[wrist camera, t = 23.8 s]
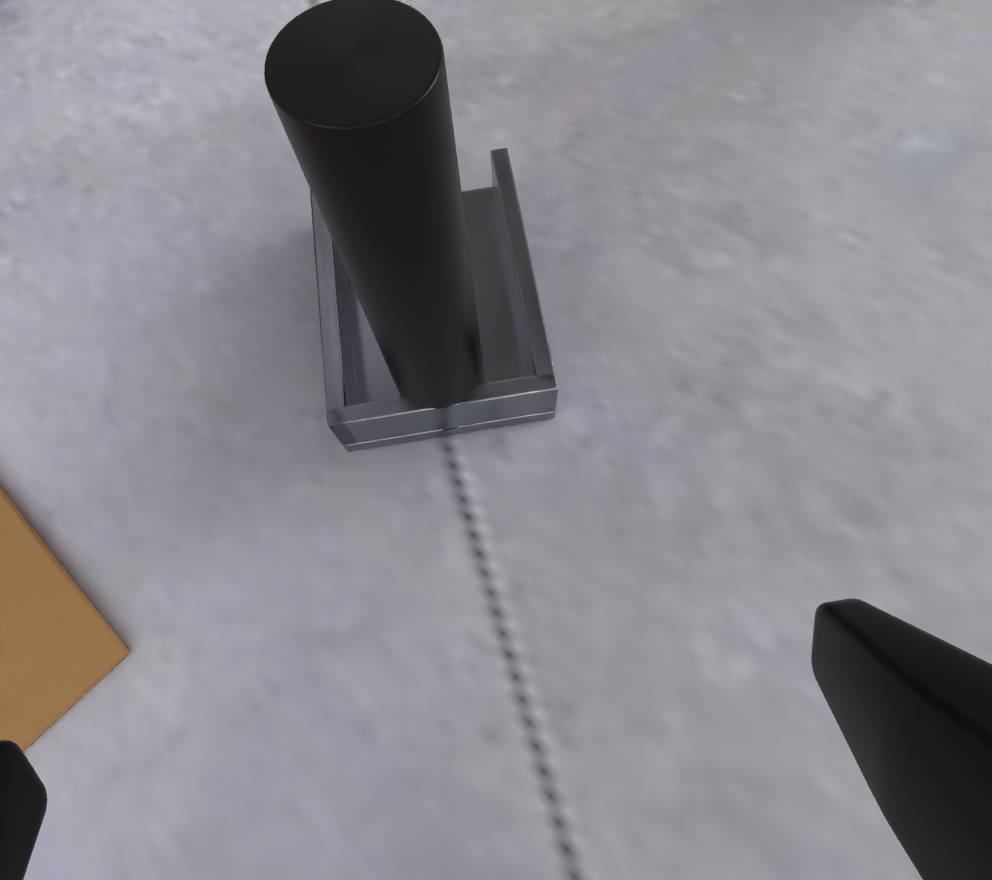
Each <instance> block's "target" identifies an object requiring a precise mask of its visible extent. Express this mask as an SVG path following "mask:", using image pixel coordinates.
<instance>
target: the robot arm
mask: <svg viewBox="0 0 992 880" xmlns="http://www.w3.org/2000/svg"><path fill="white" fill-rule="evenodd" d="M811 658H812V668H813V672H814V675H815V678H816V680H817V682H818V685H819V687H820V689H821V691H822V693H823V695H824V697H825V699H826V701H827V703H828V705H829V707H830V709H831V711H832V713H833V715H834V717H835V719H836V721H837V723H838V725H839V727H840V729H841V731H842V733H843V735H844V737H845V739H846V741H847V743H848V745H849V747H850V749H851V751H852V753H853V755H854V757H855V759H856V761H857V764H858V766H859V768H860V770H861V772H862V774H863V776H864V778H865V780H866V782H867V784H868V786H869V788H870V790H871V792H872V794H873V796H874V798H875V799H876V801H877V803H878V805H879V807H880V809H881V811H882V813H883V815H884V816H885V818H886V820H887V821H888V823H889V825H890V826H891V828H892V830H893V832H894V833H895V835H896V837H897V838H898V840H899V842H900V843H901V845H902V846H903V848H904V850H905V851H906V853H907V854H908V856H909V858H910V859H911V861H912V862H913V864H914V866H915V867H916V869H917V871H918V872H919V874H920V875H921V877H922V879H923V880H992V664H990V663H988V662H986V661H984V660H982V659H980V658H978V657H976V656H974V655H972V654H970V653H968V652H966V651H963V650H961V649H959V648H957V647H955V646H953V645H951V644H949V643H947V642H945V641H943V640H941V639H939V638H937V637H935V636H933V635H931V634H929V633H927V632H925V631H923V630H921V629H919V628H917V627H915V626H913V625H911V624H909V623H907V622H904V621H902V620H900V619H898V618H896V617H894V616H892V615H890V614H888V613H886V612H884V611H882V610H880V609H878V608H876V607H874V606H872V605H870V604H868V603H866V602H864V601H861V600H859V599H844V600H838V601H832V602H826V603H823V604H821V605H819V607H818V608H817V610H816V614H815V622H814V633H813V645H812V656H811ZM46 806H47V793H46V789H45V787H44V784H43V783H42V781H41V780H40V778H39V777H38V775H37V773H36V772H35V770H34V769H33V767H32V766H31V764H30V762H29V761H28V759H27V758H26V756H25V755H24V753H23V751H22V750H21V748H20V747H19V746H18V745H17V744H16V743H14V742H12V741H10V740H0V880H23V879H24V875H25V872H26V869H27V866H28V863H29V860H30V857H31V854H32V851H33V848H34V845H35V842H36V839H37V836H38V833H39V830H40V827H41V824H42V821H43V818H44V815H45V811H46Z"/></svg>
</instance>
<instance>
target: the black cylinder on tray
mask: <svg viewBox="0 0 992 880" xmlns="http://www.w3.org/2000/svg"><path fill="white" fill-rule="evenodd" d="M264 75H265V83H266V86H267V89H268V92H269V94H270V97H271V99H272V101H273V104H274V106H275V108H276V111H277V113H278V115H279V118H280V120H281V122H282V124H283V127H284V129H285V131H286V134H287V136H288V138H289V141H290V143H291V145H292V147H293V150H294V152H295V154H296V157H297V159H298V161H299V164H300V166H301V168H302V171H303V173H304V175H305V177H306V180H307V182H308V184H309V187H310V196H311V209H312V222H313V235H314V249H315V262H316V275H317V288H318V301H319V314H320V328H321V341H322V354H323V367H324V380H325V393H326V407H327V420H328V426H329V427H330V429H331V430H332V431H333V433H334V434H335V435H336V437H337V438H338V439H339V440H340V442H341V443H342V444H343V446H344V447H345V449H346V450H347V451H348V452H350V451H356V450H362V449H368V448H374V447H380V446H387V445H393V444H399V443H405V442H411V441H417V440H423V439H429V438H435V437H442V436H448V435H454V434H460V433H466V432H472V431H478V430H484V429H490V428H496V427H503V426H509V425H515V424H521V423H527V422H533V421H539V420H545V419H551V418H554V417H555V410H556V403H557V394H558V384H557V380H556V375H555V370H554V365H553V361H552V356H551V351H550V347H549V342H548V337H547V333H546V328H545V323H544V318H543V314H542V309H541V304H540V300H539V295H538V290H537V286H536V281H535V276H534V271H533V267H532V262H531V257H530V253H529V248H528V243H527V239H526V234H525V229H524V224H523V220H522V215H521V210H520V206H519V201H518V196H517V192H516V187H515V182H514V177H513V173H512V168H511V163H510V159H509V154H508V149H507V148H503V149H496V150H491V166H492V182H493V187H489V188H482V189H476V190H470V191H463V192H461V185H460V177H459V169H458V162H457V154H456V146H455V138H454V130H453V122H452V114H451V107H450V99H449V91H448V83H447V75H446V67H445V59H444V51H443V46H442V42H441V39H440V37H439V35H438V33H437V31H436V29H435V28H434V26H433V25H432V24H431V22H430V21H429V20H428V19H427V18H426V17H425V16H424V15H423V14H421V13H420V12H419V11H417V10H416V9H414V8H412V7H411V6H409V5H407V4H404V3H402V2H400V1H396V0H330V1H327V2H324V3H321V4H319V5H316V6H314V7H312V8H310V9H308V10H306V11H304V12H303V13H301V14H300V15H298V16H297V17H295V18H294V19H293V20H291V21H290V22H289V23H288V24H287V25H286V26H285V27H284V28H283V29H282V30H281V31H280V32H279V33H278V35H277V36H276V37H275V39H274V40H273V42H272V44H271V46H270V48H269V50H268V53H267V56H266V61H265V73H264Z"/></svg>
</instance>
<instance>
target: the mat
mask: <svg viewBox="0 0 992 880" xmlns="http://www.w3.org/2000/svg"><path fill="white" fill-rule="evenodd" d="M129 653H130V652H129V650H128V649H127V648H126V647H125V645H124V644H123V643H122V641H121V640H120V639H119V638H118V636H117V635H116V634H115V632H114V631H113V630H112V629H111V627H110V626H109V625H108V624H107V622H106V621H105V620H104V618H103V617H102V616H101V615H100V613H99V612H98V611H97V609H96V608H95V607H94V606H93V604H92V603H91V602H90V600H89V599H88V598H87V597H86V595H85V594H84V593H83V592H82V590H81V589H80V588H79V586H78V585H77V584H76V583H75V581H74V580H73V579H72V577H71V576H70V575H69V574H68V572H67V571H66V570H65V568H64V567H63V566H62V565H61V563H60V562H59V561H58V559H57V558H56V557H55V556H54V554H53V553H52V552H51V551H50V549H49V548H48V547H47V545H46V544H45V543H44V542H43V540H42V539H41V538H40V536H39V535H38V534H37V533H36V531H35V530H34V529H33V527H32V526H31V525H30V524H29V522H28V521H27V520H26V518H25V517H24V516H23V515H22V513H21V512H20V511H19V510H18V508H17V507H16V506H15V504H14V503H13V502H12V501H11V499H10V498H9V497H8V495H7V494H6V493H5V492H4V490H3V489H2V488H1V486H0V740H10V741H12V742H14V743H16V744H17V745H18V746H19V747H20V748H21V750H22V751H24V750H25V749H26V748H27V747H29V746H30V745H31V744H32V743H33V742H34V741H35V740H36V739H37V738H38V737H39V736H40V735H42V734H43V733H44V732H45V731H46V730H47V729H48V728H49V727H50V726H51V725H52V724H53V723H54V722H56V721H57V720H58V719H59V718H60V717H61V716H62V715H63V714H64V713H65V712H66V711H67V710H69V709H70V708H71V707H72V706H73V705H74V704H75V703H76V702H77V701H78V700H79V699H80V698H82V697H83V696H84V695H85V694H86V693H87V692H88V691H89V690H90V689H91V688H92V687H93V686H95V685H96V684H97V683H98V682H99V681H100V680H101V679H102V678H103V677H104V676H105V675H106V674H108V673H109V672H110V671H111V670H112V669H113V668H114V667H115V666H116V665H117V664H118V663H119V662H121V661H122V660H123V659H124V658H125V657H126V656H127V655H128V654H129Z"/></svg>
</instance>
